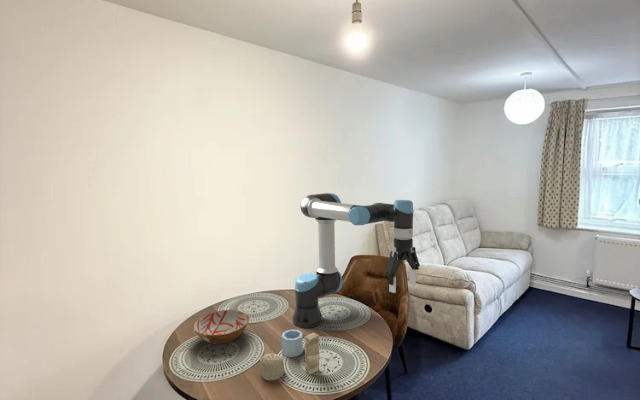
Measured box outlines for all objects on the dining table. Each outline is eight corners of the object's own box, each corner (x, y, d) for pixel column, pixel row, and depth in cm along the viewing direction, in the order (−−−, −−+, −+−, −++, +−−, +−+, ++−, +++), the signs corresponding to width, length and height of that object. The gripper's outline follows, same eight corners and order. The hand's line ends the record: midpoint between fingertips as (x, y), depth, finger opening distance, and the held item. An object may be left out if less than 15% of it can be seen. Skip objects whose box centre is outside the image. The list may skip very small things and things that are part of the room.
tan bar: (305, 371, 127) (304, 336, 125) (314, 366, 130) (313, 332, 128) (310, 374, 124) (309, 339, 123) (319, 369, 127) (318, 335, 126)
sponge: (269, 375, 131) (254, 356, 130) (289, 361, 131) (274, 342, 130) (268, 391, 122) (251, 371, 120) (288, 375, 122) (272, 355, 120)
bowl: (260, 330, 159) (260, 315, 158) (225, 358, 136) (224, 340, 135) (220, 321, 169) (219, 306, 168) (181, 345, 147) (180, 328, 146)
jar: (278, 350, 141) (277, 334, 140) (295, 343, 147) (294, 327, 146) (290, 359, 134) (289, 342, 134) (307, 351, 140) (306, 335, 139)
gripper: (391, 244, 124) (390, 298, 126) (428, 234, 139) (427, 283, 141) (376, 240, 129) (375, 292, 131) (413, 232, 145) (413, 278, 147)
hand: (402, 288), depth 136 cm, fingers open, 13 cm apart
